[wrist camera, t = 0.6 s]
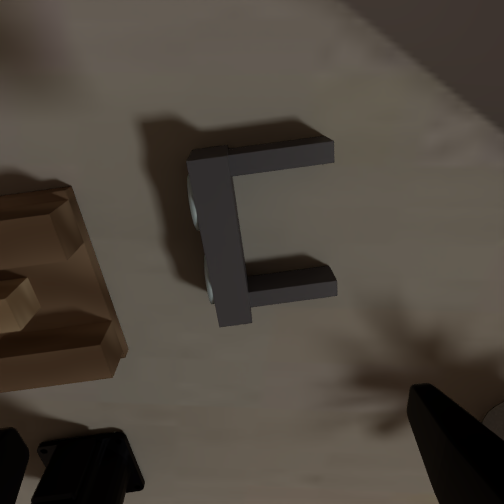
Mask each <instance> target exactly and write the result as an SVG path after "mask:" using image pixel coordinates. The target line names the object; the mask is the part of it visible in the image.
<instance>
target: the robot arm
mask: <svg viewBox="0 0 504 504" xmlns="http://www.w3.org/2000/svg"><path fill="white" fill-rule="evenodd" d="M407 415H408V419H409V422H410V425H411V428H412V431H413V434H414V436H415V439H416V442H417V445H418V448H419V451H420V454H421V456H422V459H423V462H424V465H425V468H426V471H427V474H428V476H429V479H430V482H431V485H432V487H433V490H434V493H435V495H436V497H437V500H438V502H439V504H504V440H503V439H502V438H500V437H499V436H498V435H496V434H495V433H494V432H493V431H491V430H490V429H489V428H487V427H486V426H485V425H484V424H482V423H481V422H480V421H478V420H477V419H476V418H475V417H473V416H472V415H471V414H469V413H468V412H467V411H466V410H464V409H463V408H462V407H460V406H459V405H458V404H457V403H455V402H454V401H453V400H451V399H450V398H449V397H448V396H446V395H445V394H444V393H443V392H441V391H440V390H439V389H437V388H436V387H435V386H433V385H432V384H429V383H422V384H414V385H412V386H411V387H410V390H409V398H408V405H407ZM37 453H38V455H39V456H40V458H41V460H42V461H43V463H44V465H45V467H46V469H45V471H44V473H43V475H42V477H41V480H40V482H39V484H38V486H37V488H36V490H35V492H34V494H33V496H32V498H31V502H32V503H31V504H123V502H124V498H125V494H126V493H128V492H135V491H141V490H143V488H144V484H145V481H144V478H143V476H142V474H141V471H140V469H139V466H138V464H137V461H136V459H135V456H134V454H133V451H132V449H131V447H130V444H129V442H128V439H127V437H126V435H125V434H124V433H121V432H115V433H108V434H100V435H93V436H85V437H78V438H70V439H63V440H55V441H48V442H42V443H41V444H40V445H39V447H38V449H37ZM28 460H29V449H28V447H27V445H26V444H25V442H24V441H23V439H22V437H21V436H20V434H19V433H18V431H17V430H16V429H15V428H13V427H9V428H0V504H15V502H16V499H17V496H18V493H19V490H20V486H21V483H22V480H23V477H24V473H25V470H26V467H27V464H28Z"/></svg>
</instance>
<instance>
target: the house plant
mask: <svg viewBox="0 0 504 504" xmlns="http://www.w3.org/2000/svg"><path fill="white" fill-rule="evenodd" d="M482 424H484V425H485V426H486V427H487V428H489V429H490V430H491V431H493V432H494V433H495V434H496V435H498V436H499V437H500V438H502V439H503V440H504V402H503V403H501V404H499V405H497V406H495V407H494V408H493V409H492V410H490V411H489V412H488V414H487V415H486V416H485V418H484V420H483V422H482Z"/></svg>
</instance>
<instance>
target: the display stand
mask: <svg viewBox="0 0 504 504" xmlns="http://www.w3.org/2000/svg"><path fill="white" fill-rule="evenodd" d="M127 352H128V346H127V344H126V341H125V338H124V335H123V332H122V329H121V326H120V324H119V321H118V318H117V315H116V312H115V309H114V306H113V304H112V301H111V298H110V295H109V292H108V289H107V286H106V284H105V281H104V278H103V275H102V272H101V269H100V266H99V263H98V261H97V258H96V255H95V252H94V249H93V246H92V243H91V241H90V238H89V235H88V232H87V229H86V226H85V223H84V221H83V218H82V215H81V212H80V209H79V206H78V203H77V201H76V198H75V195H74V192H73V189H72V186H69V187H62V188H55V189H47V190H40V191H33V192H25V193H18V194H10V195H3V196H0V393H2V392H10V391H17V390H25V389H32V388H40V387H47V386H55V385H62V384H69V383H77V382H84V381H92V380H99V379H107V378H113V376H114V373H115V371H116V368H117V366H118V363H119V361H120V358H125V357H126V354H127Z"/></svg>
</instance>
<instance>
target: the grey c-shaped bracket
mask: <svg viewBox="0 0 504 504" xmlns="http://www.w3.org/2000/svg"><path fill="white" fill-rule="evenodd" d="M186 163H187V168H188V173H189V174H188V177H187V189H188V198H189V205H190V210H191V215H192V219H193V223H194V226H195V228H196V230H197V231H199V230H200V233H201V238H202V243H203V248H204V253H205V256H204V271H205V280H206V287H207V292H208V296H209V300H210V303H211V304H215V307H216V312H217V317H218V322H219V327H226V326H233V325H240V324H248V323H252V314H251V307H257V306H264V305H272V304H279V303H287V302H294V301H302V300H309V299H317V298H324V297H331V296H337V280H336V278H335V276H334V274H333V272H332V270H331V268H330V267H329V266H324V267H316V268H309V269H301V270H294V271H286V272H279V273H272V274H264V275H257V276H249V277H247V273H246V266H245V259H244V252H243V246H242V239H241V232H240V225H239V219H238V212H237V205H236V198H235V192H234V185H233V178H232V176H238V175H246V174H253V173H260V172H268V171H275V170H283V169H290V168H297V167H305V166H312V165H319V164H327V163H334V141H333V140H331V139H329V138H328V137H326V136H320V137H312V138H305V139H298V140H290V141H283V142H276V143H268V144H261V145H254V146H246V147H239V148H231V149H228V145H224V146H216V147H209V148H202V149H194V150H192V152H191V154H190V155H189V157H188V159H187V161H186Z"/></svg>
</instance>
